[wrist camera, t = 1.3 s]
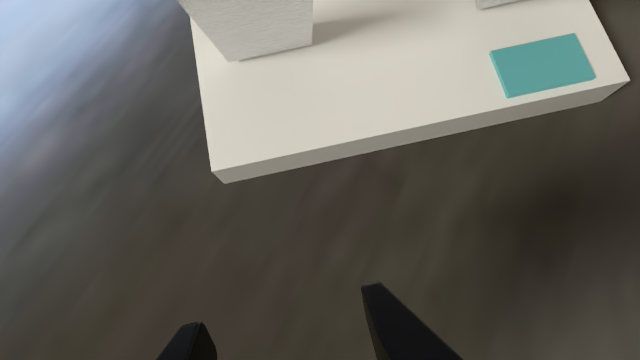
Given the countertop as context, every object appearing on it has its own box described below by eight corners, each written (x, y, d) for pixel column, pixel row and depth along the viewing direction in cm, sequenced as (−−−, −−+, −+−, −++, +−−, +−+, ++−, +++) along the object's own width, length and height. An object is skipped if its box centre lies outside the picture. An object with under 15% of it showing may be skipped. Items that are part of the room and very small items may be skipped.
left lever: (311, 44, 22) (315, -50, 12) (228, 62, 22) (162, -18, 12) (306, 17, 22) (304, -101, 12) (222, 35, 22) (150, -69, 12)
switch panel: (600, 101, 23) (634, 77, 21) (224, 183, 23) (209, 169, 20) (519, -66, 27) (539, -105, 25) (197, 1, 27) (182, -31, 24)
